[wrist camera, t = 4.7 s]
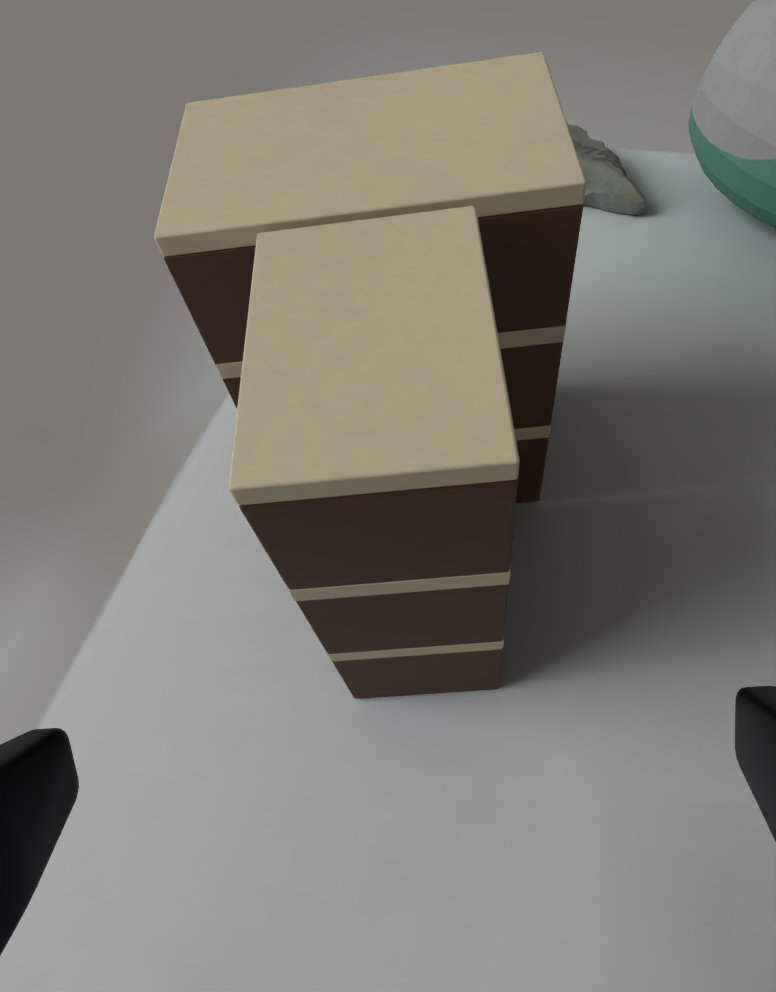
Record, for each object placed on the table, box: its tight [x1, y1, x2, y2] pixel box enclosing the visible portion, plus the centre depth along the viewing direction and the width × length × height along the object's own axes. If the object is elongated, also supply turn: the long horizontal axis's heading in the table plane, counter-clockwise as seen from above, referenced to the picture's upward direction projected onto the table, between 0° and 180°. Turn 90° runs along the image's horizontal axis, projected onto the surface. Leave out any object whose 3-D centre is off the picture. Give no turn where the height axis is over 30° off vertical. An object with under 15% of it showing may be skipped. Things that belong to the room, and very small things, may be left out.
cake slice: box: [228, 206, 520, 698], centre depth 19 cm, size 7×5×14 cm
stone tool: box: [567, 124, 646, 215], centre depth 35 cm, size 9×2×5 cm
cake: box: [154, 52, 586, 502], centre depth 22 cm, size 6×10×14 cm, turn 92°
